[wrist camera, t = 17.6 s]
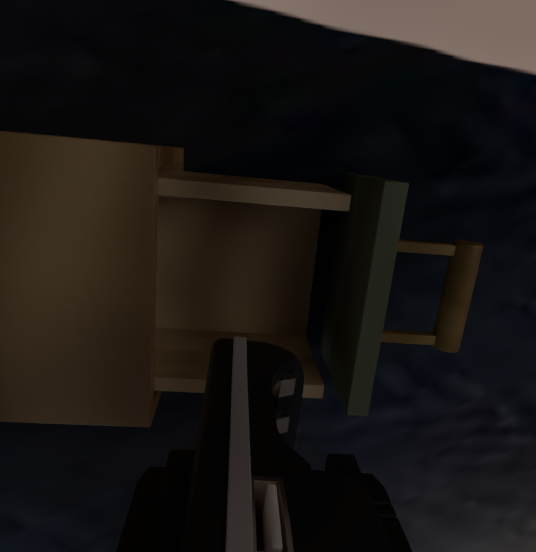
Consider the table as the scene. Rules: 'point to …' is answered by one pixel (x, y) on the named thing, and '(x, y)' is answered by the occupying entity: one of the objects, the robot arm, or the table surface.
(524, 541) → the table surface
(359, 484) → the battery charger
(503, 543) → the table surface
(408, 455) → the table surface
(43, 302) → the cabinet
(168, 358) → the drawer
